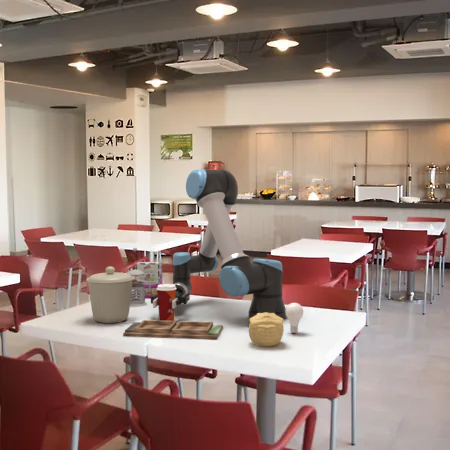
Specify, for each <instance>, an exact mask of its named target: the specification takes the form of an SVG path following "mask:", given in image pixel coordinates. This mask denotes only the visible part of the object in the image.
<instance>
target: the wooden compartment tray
mask: <svg viewBox="0 0 450 450" xmlns="http://www.w3.org/2000/svg"><path fill="white" fill-rule="evenodd" d="M223 330H224V325H223V324H214V321H192V320H191V321H186V320H185V321H184V320H179V321H177V320H174V321H162V320H157V319H155V320H154V319H153V320H152V319H143V320H142V321H141V322H140V321H139V322H137V321H135V322H133V323H132V324H130V325H129V326H128V327H127V328H126V329H124V332H123V333H122V336H123V337H137V338H160V339H161V338H163V339H164V338H167V339H188V340H189V339H193V340H194V339H195V340H218V338H219V336H221V333H222V331H223Z"/></svg>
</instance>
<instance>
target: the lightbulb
mask: <svg viewBox="0 0 450 450" xmlns="http://www.w3.org/2000/svg"><path fill="white" fill-rule="evenodd" d="M285 308H286V309H285V314H286V316H287V319H288V322H289V327H290V333H291V334H293V335H295V334H297V333H298V332H299V324H300V321H301V319H302V318H303V315H304V308H303V306H302V305H301V304H300V303H298V302H291V303H288V304H287V306H285Z"/></svg>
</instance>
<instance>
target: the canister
mask: <svg viewBox="0 0 450 450" xmlns="http://www.w3.org/2000/svg"><path fill="white" fill-rule="evenodd" d="M115 271H116V268H115V267H114V266H111V265H110V266H107V267H106V268H105V272H100V273H95V274H91V275H89V277H87V278H86V282H87V283H88V284H87V285H88V291H89V298H90V306H91V312H92V317H93V320H95V321H96V322H99V323H103V324H114V323H119V322H123V321H125V320H127V319H128V317H129V314H130V308H131V307H130V300H131V290H132V281H135V276H131V275H129V274H126V273H127V272H126V273H125V272H117V271H116V272H115ZM132 291H133V290H132Z"/></svg>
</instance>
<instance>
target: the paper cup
mask: <svg viewBox="0 0 450 450" xmlns="http://www.w3.org/2000/svg"><path fill="white" fill-rule="evenodd" d="M176 289H177V288H176V286H175V285H174V284H173V283H162V284H161V285H158V287H157V292H158V306H157V307H158V318H159V320H162V321H175V311H176V310H175V309H176V307H175V308H174V309H172V301H173V300H174V299H175V295H176Z"/></svg>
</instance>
